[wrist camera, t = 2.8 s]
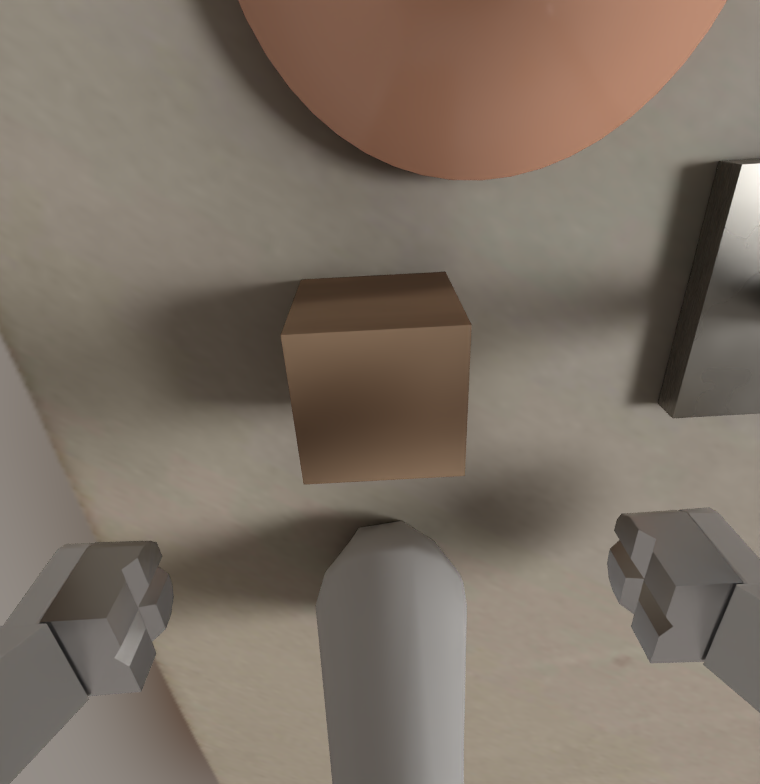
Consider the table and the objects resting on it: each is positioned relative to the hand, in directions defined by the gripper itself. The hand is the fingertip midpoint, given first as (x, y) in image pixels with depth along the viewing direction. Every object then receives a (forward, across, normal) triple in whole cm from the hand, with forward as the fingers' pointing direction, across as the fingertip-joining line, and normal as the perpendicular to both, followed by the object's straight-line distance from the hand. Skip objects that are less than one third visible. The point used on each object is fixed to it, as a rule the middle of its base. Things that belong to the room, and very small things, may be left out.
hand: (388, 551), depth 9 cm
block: (+9, 0, 0) cm, 9 cm away
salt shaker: (+9, 0, +10) cm, 13 cm away
